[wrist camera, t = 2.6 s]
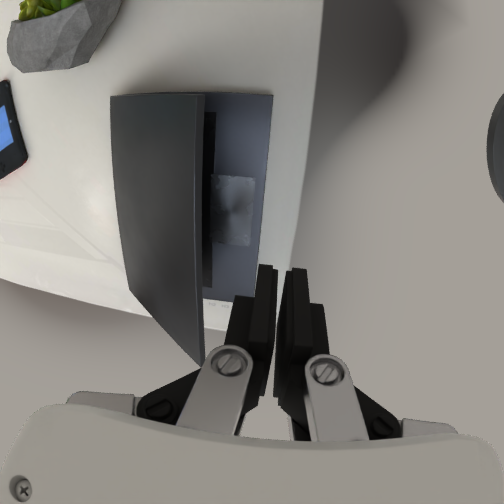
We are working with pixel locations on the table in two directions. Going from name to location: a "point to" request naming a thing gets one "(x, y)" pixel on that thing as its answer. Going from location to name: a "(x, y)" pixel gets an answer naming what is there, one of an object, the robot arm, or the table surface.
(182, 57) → the table surface
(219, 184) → the laptop
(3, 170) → the game console
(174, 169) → the laptop screen
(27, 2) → the potted plant
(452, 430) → the robot arm
